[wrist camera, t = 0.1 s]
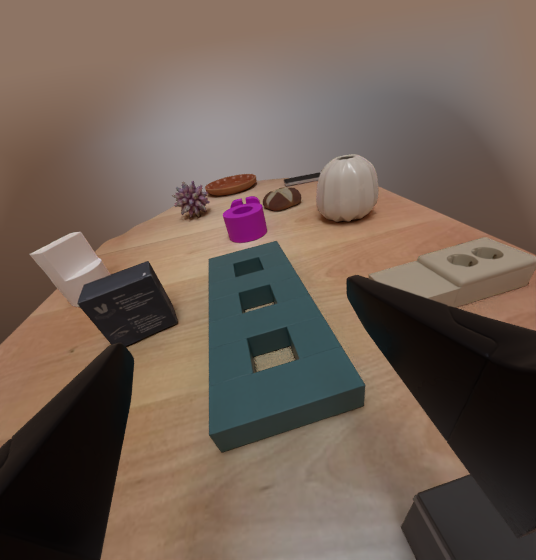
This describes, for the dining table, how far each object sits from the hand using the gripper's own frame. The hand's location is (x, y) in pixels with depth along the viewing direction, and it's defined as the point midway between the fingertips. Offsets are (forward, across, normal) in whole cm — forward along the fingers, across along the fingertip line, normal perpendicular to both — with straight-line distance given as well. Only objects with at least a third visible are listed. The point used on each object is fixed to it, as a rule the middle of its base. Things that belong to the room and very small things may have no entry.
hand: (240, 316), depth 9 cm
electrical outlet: (+15, -26, +18) cm, 35 cm away
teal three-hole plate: (+20, -1, +18) cm, 26 cm away
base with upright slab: (+42, +32, +18) cm, 55 cm away
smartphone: (+91, -32, +17) cm, 98 cm away
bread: (+68, -17, +18) cm, 72 cm away
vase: (+47, -28, +18) cm, 57 cm away
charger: (-6, -8, +18) cm, 20 cm away
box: (+25, +17, +18) cm, 35 cm away
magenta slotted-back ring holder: (+55, -4, +18) cm, 58 cm away
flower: (+80, +11, +17) cm, 82 cm away
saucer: (+107, -4, +17) cm, 108 cm away
